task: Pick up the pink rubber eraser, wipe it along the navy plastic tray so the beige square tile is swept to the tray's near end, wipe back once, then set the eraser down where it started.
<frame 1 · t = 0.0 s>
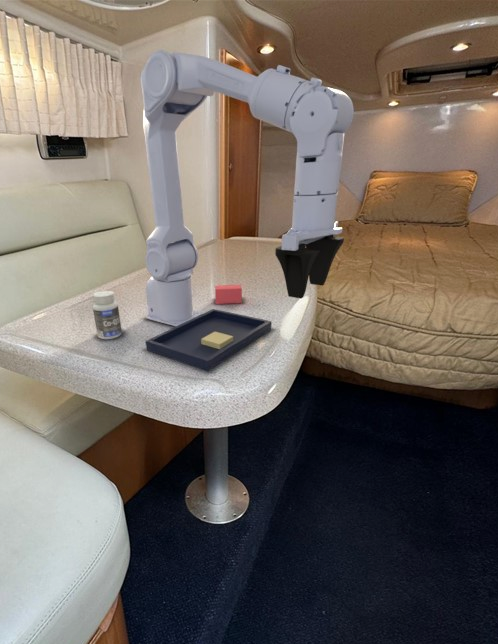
hand: (306, 290, 56), 10 cm above the table, tool pointing down, fingers open, 7 cm apart
tray: (211, 339, 66), on the table
beige square tile: (217, 342, 63), point 1 cm above the table, touching tray
eraser: (228, 301, 85), on the table
pill bottle: (110, 335, 71), on the table
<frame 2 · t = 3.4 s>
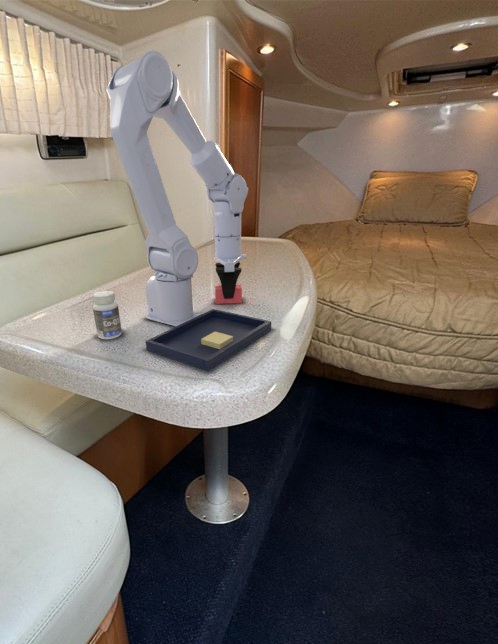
hand: (228, 295, 85), 1 cm above the table, tool pointing down, fingers closed on eraser, 3 cm apart
eraser: (228, 301, 85), on the table, touching gripper
everything else where it was.
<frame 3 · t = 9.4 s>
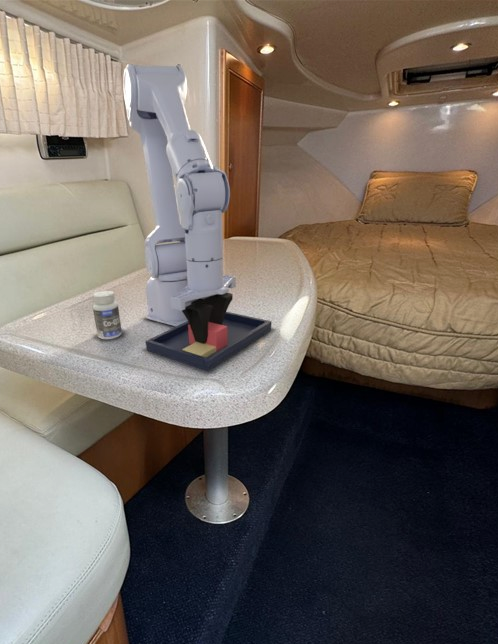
hand: (207, 338, 62), 2 cm above the table, tool pointing down, fingers closed on eraser, 3 cm apart
beige square tile: (199, 353, 60), point 1 cm above the table, touching eraser, tray
eraser: (208, 344, 63), point 1 cm above the table, touching beige square tile, gripper, tray
everything else where it was.
when the fingers open (1 cm above the table, at t = 16.0 s): eraser stays where it is, on the table.
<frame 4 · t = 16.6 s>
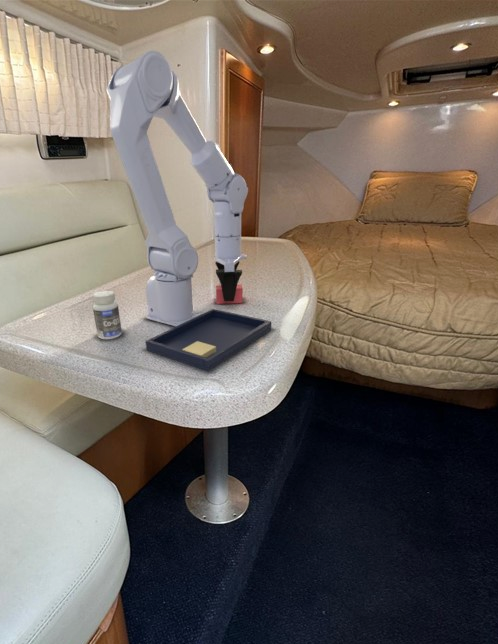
hand: (228, 295, 85), 1 cm above the table, tool pointing down, fingers open, 7 cm apart
beige square tile: (199, 353, 60), point 1 cm above the table, touching tray
eraser: (229, 301, 85), on the table
everything else where it was.
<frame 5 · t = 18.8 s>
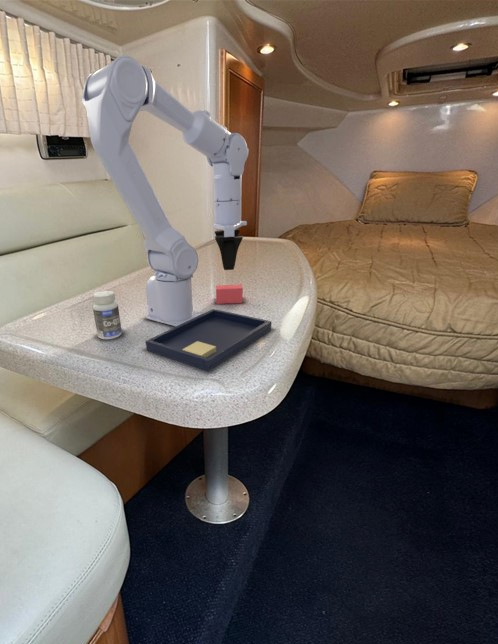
hand: (228, 265, 82), 8 cm above the table, tool pointing down, fingers open, 7 cm apart
nothing on the table moved.
at the end: beige square tile inside the target area in the tray (2.5 cm from its centre), point 0.6 cm above the tray's base; eraser 0.2 cm from the target spot, on the table; the gripper is holding nothing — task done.
